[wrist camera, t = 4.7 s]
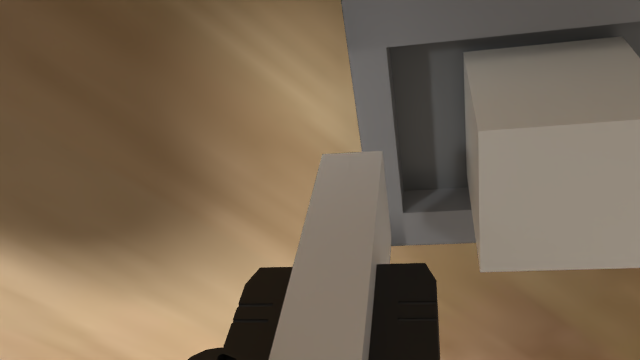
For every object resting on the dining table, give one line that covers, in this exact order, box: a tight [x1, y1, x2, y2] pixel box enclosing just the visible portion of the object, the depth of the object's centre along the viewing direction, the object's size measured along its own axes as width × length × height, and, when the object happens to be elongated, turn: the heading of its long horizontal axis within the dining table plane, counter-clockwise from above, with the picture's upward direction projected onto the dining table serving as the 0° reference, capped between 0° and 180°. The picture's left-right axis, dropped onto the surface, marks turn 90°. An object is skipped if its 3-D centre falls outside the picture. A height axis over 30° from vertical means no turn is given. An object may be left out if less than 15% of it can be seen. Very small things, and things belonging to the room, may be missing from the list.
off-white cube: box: [463, 36, 640, 272], centre depth 15 cm, size 4×4×4 cm
